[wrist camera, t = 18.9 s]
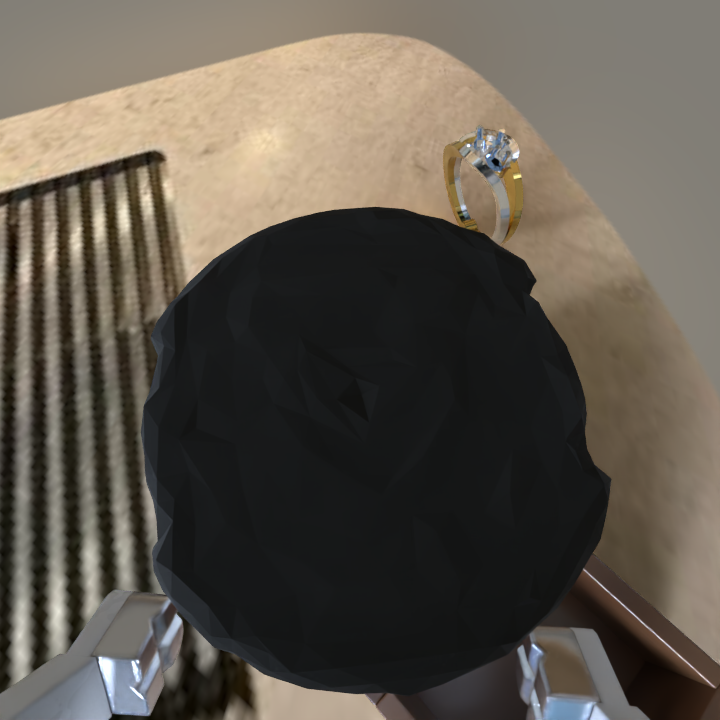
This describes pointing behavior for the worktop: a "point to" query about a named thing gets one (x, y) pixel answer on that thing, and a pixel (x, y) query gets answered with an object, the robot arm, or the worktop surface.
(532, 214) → the worktop surface
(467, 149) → the ring
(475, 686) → the divided wooden tray
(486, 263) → the spray can
